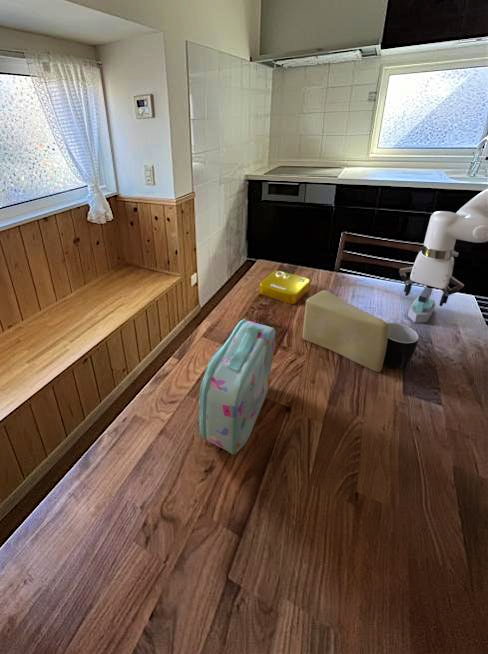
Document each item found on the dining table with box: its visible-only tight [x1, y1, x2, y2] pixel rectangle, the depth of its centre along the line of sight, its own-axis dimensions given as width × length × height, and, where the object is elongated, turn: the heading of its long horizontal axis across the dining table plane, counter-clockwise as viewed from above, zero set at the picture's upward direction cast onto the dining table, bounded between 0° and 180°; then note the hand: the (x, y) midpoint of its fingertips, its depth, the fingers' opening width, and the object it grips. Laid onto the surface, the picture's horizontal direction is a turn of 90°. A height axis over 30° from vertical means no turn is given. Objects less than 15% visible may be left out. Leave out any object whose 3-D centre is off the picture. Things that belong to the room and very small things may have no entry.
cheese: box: [302, 289, 389, 373], centre depth 96 cm, size 22×10×15 cm, turn 35°
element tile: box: [259, 270, 310, 305], centre depth 130 cm, size 15×15×5 cm
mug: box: [383, 322, 420, 371], centre depth 90 cm, size 12×9×10 cm
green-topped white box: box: [407, 287, 436, 324], centre depth 111 cm, size 11×6×8 cm, turn 134°
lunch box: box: [198, 318, 276, 455], centre depth 78 cm, size 27×10×21 cm, turn 152°
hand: (423, 299), depth 111 cm, fingers open, 9 cm apart
